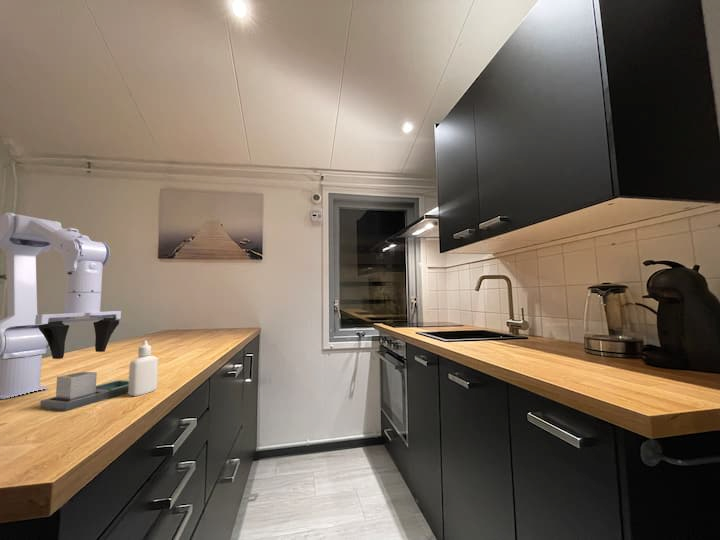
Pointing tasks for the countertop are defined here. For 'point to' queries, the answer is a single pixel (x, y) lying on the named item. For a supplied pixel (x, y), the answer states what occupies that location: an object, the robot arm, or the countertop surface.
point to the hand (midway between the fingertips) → (80, 354)
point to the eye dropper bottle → (143, 372)
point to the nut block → (75, 386)
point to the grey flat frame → (101, 394)
